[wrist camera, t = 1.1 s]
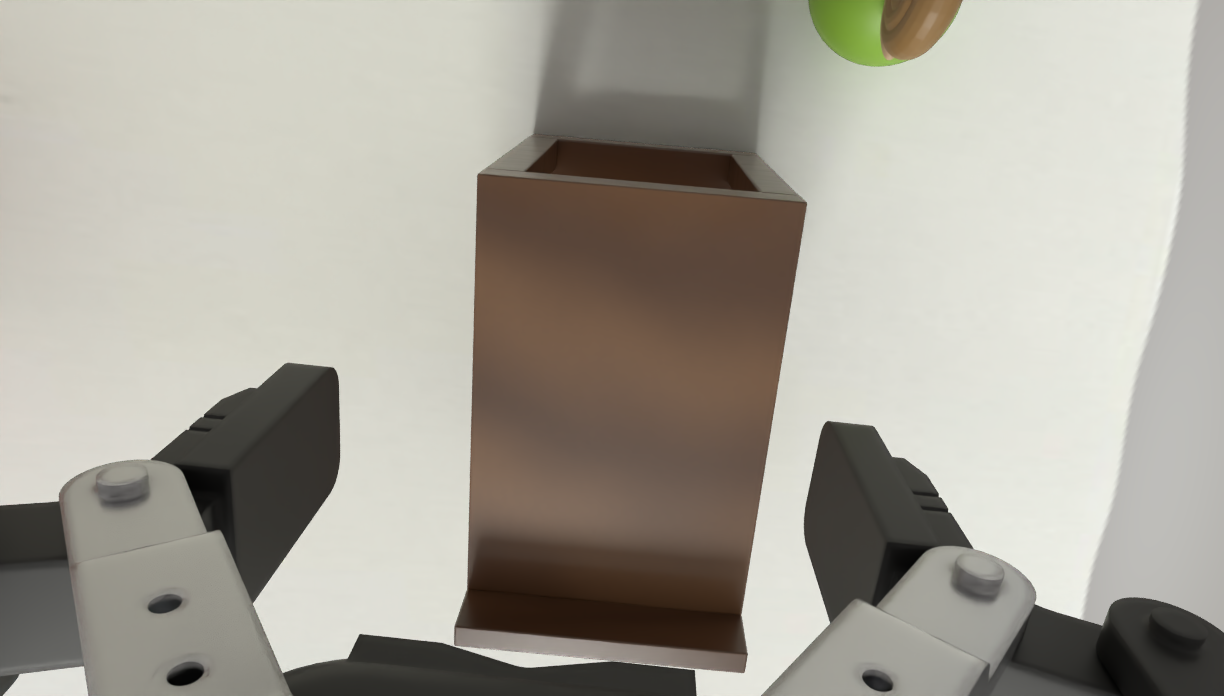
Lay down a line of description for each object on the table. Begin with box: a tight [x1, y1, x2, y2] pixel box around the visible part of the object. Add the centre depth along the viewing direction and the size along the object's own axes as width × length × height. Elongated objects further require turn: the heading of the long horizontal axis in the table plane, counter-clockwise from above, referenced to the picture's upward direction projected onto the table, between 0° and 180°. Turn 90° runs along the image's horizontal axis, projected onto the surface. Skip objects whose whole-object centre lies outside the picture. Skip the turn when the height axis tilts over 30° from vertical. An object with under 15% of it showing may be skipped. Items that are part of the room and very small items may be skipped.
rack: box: [454, 134, 807, 673], centre depth 31 cm, size 15×10×14 cm, turn 175°
